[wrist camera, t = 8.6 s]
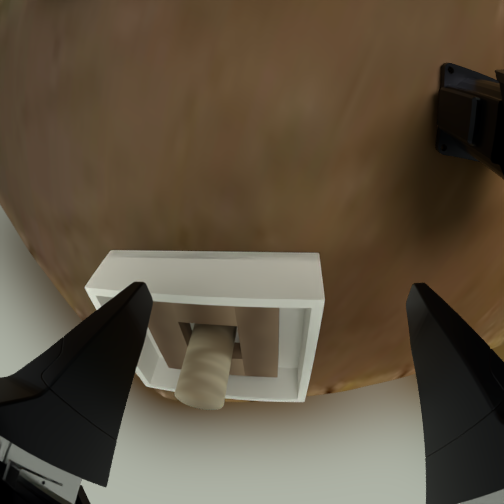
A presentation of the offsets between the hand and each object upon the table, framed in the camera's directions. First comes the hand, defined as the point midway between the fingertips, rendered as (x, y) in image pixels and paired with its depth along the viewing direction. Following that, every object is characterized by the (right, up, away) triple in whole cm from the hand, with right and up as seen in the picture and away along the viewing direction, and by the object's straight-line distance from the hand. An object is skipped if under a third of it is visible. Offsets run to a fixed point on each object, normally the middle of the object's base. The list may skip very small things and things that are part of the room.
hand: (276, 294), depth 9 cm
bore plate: (-4, -6, +18) cm, 19 cm away
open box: (-4, -5, +19) cm, 20 cm away
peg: (-4, -6, +18) cm, 19 cm away
